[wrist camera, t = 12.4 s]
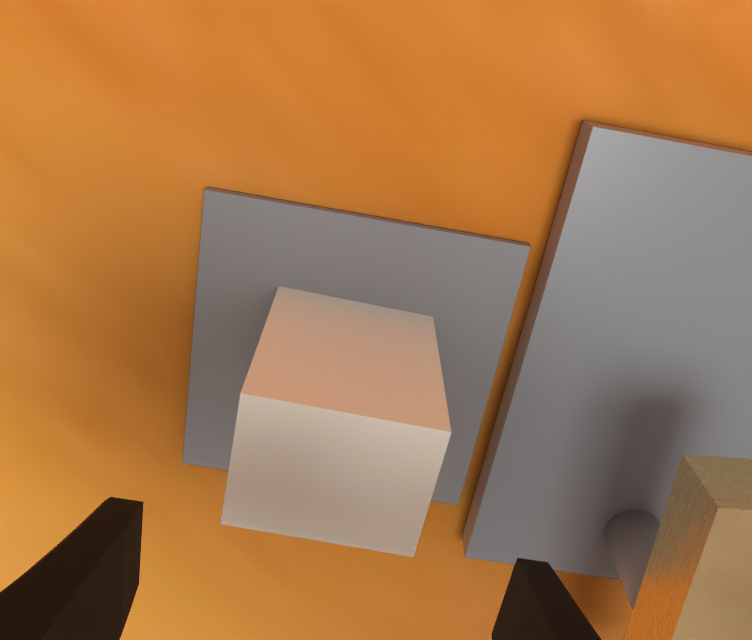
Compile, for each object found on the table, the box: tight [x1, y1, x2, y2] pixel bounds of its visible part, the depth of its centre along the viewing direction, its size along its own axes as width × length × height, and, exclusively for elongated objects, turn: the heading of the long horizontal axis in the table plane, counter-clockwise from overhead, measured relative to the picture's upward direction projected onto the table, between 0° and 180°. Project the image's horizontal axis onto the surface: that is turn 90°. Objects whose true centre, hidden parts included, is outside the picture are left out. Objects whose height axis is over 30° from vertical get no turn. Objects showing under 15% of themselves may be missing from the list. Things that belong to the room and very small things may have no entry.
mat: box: [182, 187, 531, 505], centre depth 21 cm, size 9×9×1 cm
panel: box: [462, 120, 752, 609], centre depth 20 cm, size 10×14×5 cm
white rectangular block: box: [220, 286, 451, 557], centre depth 18 cm, size 4×6×4 cm
